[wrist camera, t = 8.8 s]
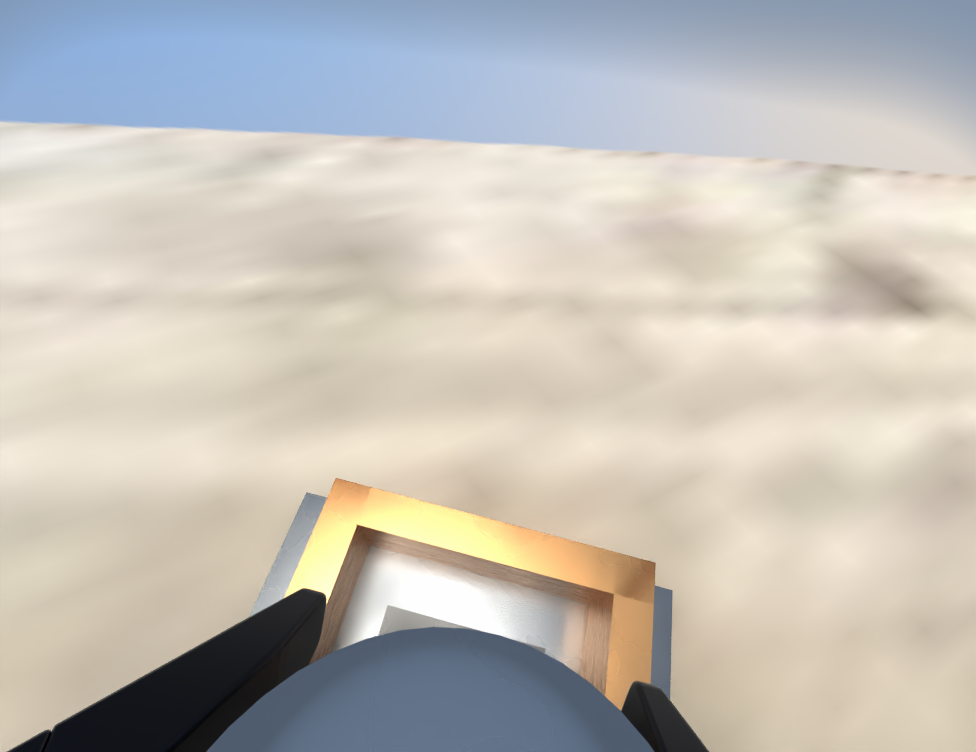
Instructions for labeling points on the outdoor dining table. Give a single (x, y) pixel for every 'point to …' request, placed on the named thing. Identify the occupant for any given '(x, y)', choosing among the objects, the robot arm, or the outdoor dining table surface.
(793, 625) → the outdoor dining table surface
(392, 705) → the grey piece
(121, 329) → the outdoor dining table surface
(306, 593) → the robot arm
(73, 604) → the outdoor dining table surface
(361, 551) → the keeper cradle
